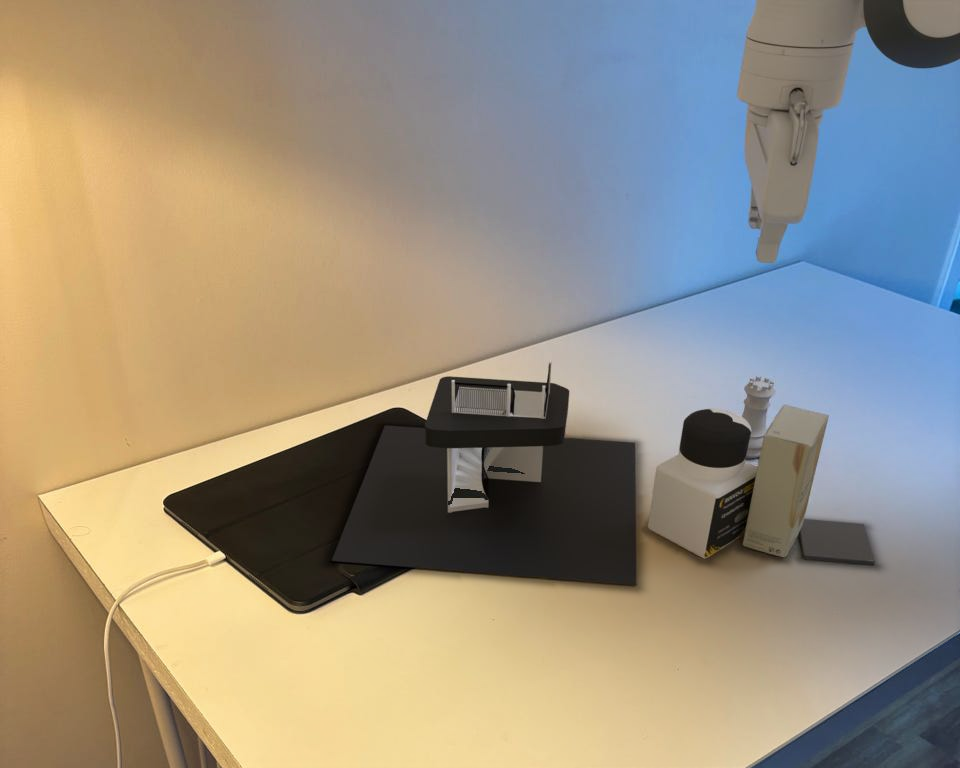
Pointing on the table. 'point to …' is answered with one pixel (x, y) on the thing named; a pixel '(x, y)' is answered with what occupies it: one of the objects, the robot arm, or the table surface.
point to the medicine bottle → (705, 484)
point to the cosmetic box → (784, 479)
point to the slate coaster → (835, 542)
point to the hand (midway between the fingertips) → (760, 242)
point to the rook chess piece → (757, 412)
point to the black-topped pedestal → (497, 490)
